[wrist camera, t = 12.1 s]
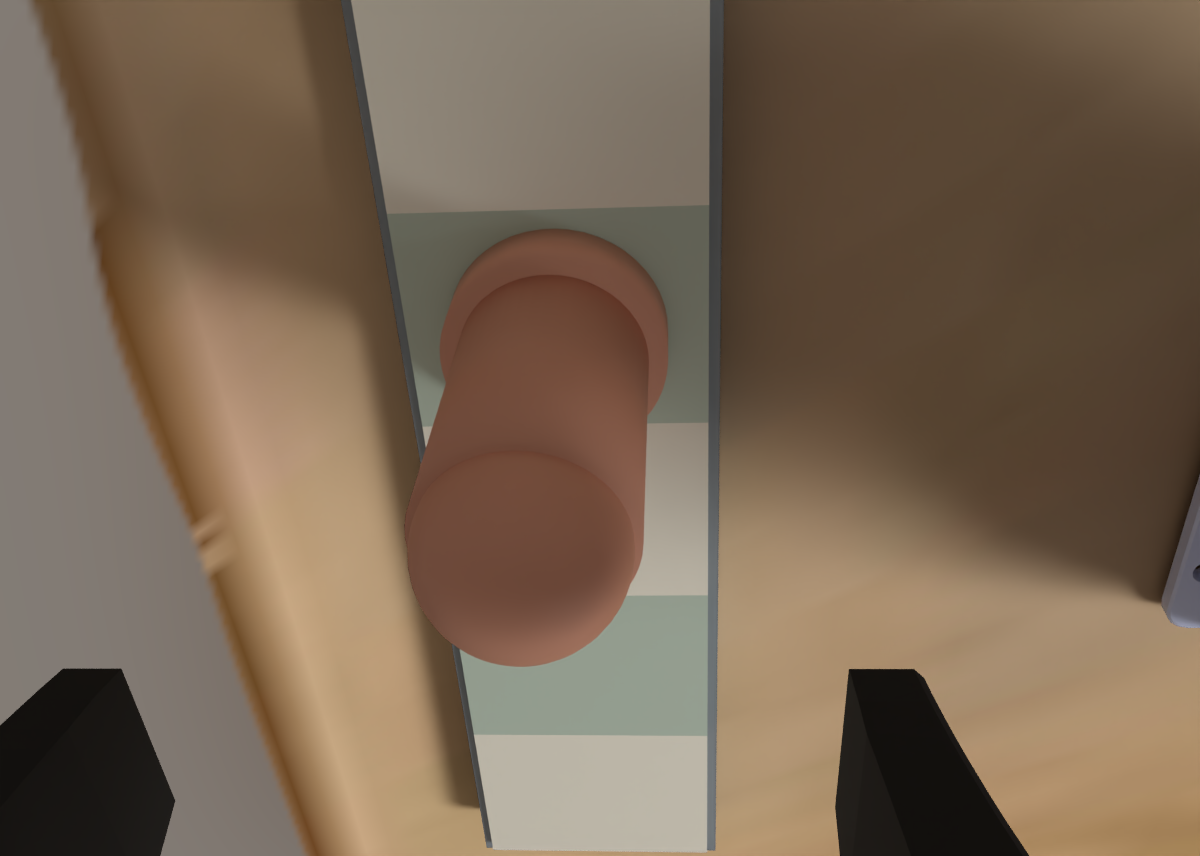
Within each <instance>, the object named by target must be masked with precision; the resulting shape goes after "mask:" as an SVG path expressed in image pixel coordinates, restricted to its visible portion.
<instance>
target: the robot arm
mask: <svg viewBox="0 0 1200 856" xmlns="http://www.w3.org/2000/svg"><path fill="white" fill-rule="evenodd" d="M1199 565H1200V475H1199V478H1198V482H1197V485H1196V488H1195V491H1194V495H1193V498H1192V501H1191V505H1190V508H1189V511H1188V514H1187V518H1186V521H1185V524H1184V527H1183V531H1182V534H1181V537H1180V541H1179V544H1178V547H1177V550H1176V554H1175V557H1174V560H1173V564H1172V567H1171V570H1170V573H1169V577H1168V580H1167V583H1166V586H1165V590H1164V593H1163V596H1162V608H1163V610H1164V611H1165V613H1166V615H1167V617H1168V619H1169V620H1170V622H1171V623H1173V624H1175V625H1176V626H1179V627H1186V628H1200V568H1199V569H1195V568H1196V567H1197V566H1199ZM174 803H175V799H174V797H173V794H172V792H171V789H170V787H169V784H168V782H167V780H166V777H165V775H164V772H163V770H162V767H161V765H160V763H159V760H158V758H157V755H156V753H155V750H154V748H153V745H152V743H151V740H150V738H149V736H148V733H147V730H146V728H145V726H144V723H143V721H142V718H141V716H140V713H139V711H138V709H137V706H136V704H135V701H134V699H133V696H132V694H131V691H130V689H129V686H128V684H127V681H126V679H125V677H124V674H123V672H122V669H62V670H61V671H60V672H59V673H58V674H57V675H55V676H54V677H53V678H52V679H51V680H50V681H49V682H47V683H46V684H45V685H44V686H43V687H42V688H41V689H40V690H38V691H37V692H36V693H35V694H34V695H33V696H32V697H31V698H30V699H28V700H27V701H26V702H25V703H24V704H23V705H22V706H21V707H20V708H19V709H18V710H16V711H15V712H14V714H12V715H11V716H10V717H9V718H8V719H7V720H6V721H5V722H4V723H2V724H1V725H0V856H160V855H161V851H162V847H163V843H164V840H165V836H166V833H167V829H168V825H169V821H170V818H171V814H172V811H173V807H174ZM835 809H836V819H837V829H838V840H839V850H840V856H1029V855H1028V853H1027V852H1026V850H1025V849H1024V847H1023V846H1022V844H1021V843H1020V841H1019V840H1018V838H1017V837H1016V835H1015V834H1014V832H1013V831H1012V829H1011V828H1010V826H1009V825H1008V823H1007V822H1006V820H1005V819H1004V817H1003V815H1002V814H1001V812H1000V811H999V809H998V808H997V806H996V804H995V803H994V801H993V800H992V798H991V796H990V795H989V793H988V792H987V790H986V788H985V787H984V785H983V783H982V782H981V780H980V778H979V777H978V775H977V773H976V772H975V770H974V768H973V767H972V765H971V763H970V762H969V760H968V758H967V757H966V755H965V753H964V752H963V750H962V748H961V746H960V745H959V743H958V741H957V739H956V738H955V736H954V734H953V732H952V730H951V729H950V727H949V725H948V723H947V721H946V720H945V718H944V716H943V714H942V712H941V710H940V708H939V706H938V705H937V703H936V701H935V699H934V697H933V695H932V693H931V691H930V689H929V687H928V685H927V683H926V681H925V679H924V678H923V677H922V676H921V675H920V674H919V673H918V672H917V671H915V670H914V669H849V674H848V685H847V695H846V705H845V715H844V725H843V735H842V745H841V755H840V765H839V775H838V785H837V795H836V805H835Z"/></svg>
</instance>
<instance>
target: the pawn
mask: <svg viewBox="0 0 1200 856" xmlns="http://www.w3.org/2000/svg"><path fill="white" fill-rule="evenodd" d="M440 362H441V367H442V372H443V375H444V378H445V381H446V385H445V388H444V391H443V394H442V398H441V401H440V404H439V407H438V411H437V414H436V417H435V420H434V423H433V427H432V430H431V433H430V436H429V440H428V443H427V446H426V449H425V453H424V456H423V459H422V462H421V466H420V469H419V472H418V475H417V479H416V482H415V485H414V488H413V491H412V495H411V498H410V501H409V505H408V508H407V512H406V516H405V525H404V528H405V540H406V544H407V551H408V570H409V574H410V579H411V583H412V587H413V590H414V593H415V595H416V598H417V600H418V602H419V604H420V607H421V608H422V610H423V612H424V613H425V615H426V617H427V618H428V619H429V621H430V622H431V623H432V624H433V626H434V627H435V628H436V629H437V631H438V632H439V633H440V634H441V635H442V636H443V637H444V638H446V639H447V640H448V641H449V642H451V643H452V644H453V645H455V646H456V647H457V648H459V649H461V650H462V651H464V652H465V653H467V654H469V655H471V656H473V657H475V658H478V659H480V660H483V661H486V662H490V663H493V664H498V665H504V666H513V667H529V666H538V665H543V664H547V663H551V662H554V661H557V660H560V659H563V658H565V657H567V656H570V655H572V654H574V653H576V652H577V651H579V650H580V649H582V648H583V647H585V646H586V645H588V644H589V643H591V642H592V641H593V640H594V639H595V638H597V637H598V636H599V635H600V634H601V633H602V631H603V630H604V629H605V628H606V627H607V626H608V625H609V624H610V623H611V622H612V620H613V619H614V617H615V616H616V614H617V612H618V611H619V609H620V607H621V606H622V604H623V602H624V599H625V597H626V595H627V592H628V589H629V587H630V584H631V582H632V581H633V579H634V577H635V575H636V573H637V571H638V569H639V566H640V563H641V559H642V555H643V544H644V511H645V477H646V443H647V416H648V415H649V413H650V412H651V411H652V409H653V408H654V406H655V405H656V403H657V401H658V400H659V397H660V395H661V393H662V390H663V388H664V384H665V380H666V376H667V368H668V319H667V314H666V309H665V305H664V302H663V299H662V297H661V294H660V292H659V290H658V288H657V286H656V284H655V282H654V281H653V279H652V278H651V277H650V275H649V274H648V273H647V271H646V270H645V269H644V268H643V267H642V266H641V265H640V264H639V263H638V261H637V260H635V259H634V258H633V257H632V256H631V255H629V254H628V253H627V252H626V251H624V250H623V249H621V248H619V247H618V246H616V245H614V244H613V243H611V242H609V241H606V240H604V239H602V238H600V237H597V236H594V235H591V234H588V233H585V232H580V231H574V230H569V229H539V230H533V231H528V232H523V233H520V234H517V235H514V236H511V237H509V238H506V239H504V240H502V241H500V242H498V243H496V244H495V245H493V246H492V247H490V248H488V249H487V250H486V251H484V252H483V253H482V254H481V255H480V256H479V257H477V258H476V259H475V260H474V261H473V263H472V264H471V265H470V266H469V267H468V268H467V270H466V271H465V273H464V274H463V276H462V277H461V279H460V281H459V283H458V285H457V288H456V290H455V292H454V295H453V298H452V301H451V304H450V307H449V310H448V313H447V316H446V319H445V322H444V325H443V329H442V332H441V339H440Z"/></svg>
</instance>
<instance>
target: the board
mask: <svg viewBox="0 0 1200 856" xmlns="http://www.w3.org/2000/svg"><path fill="white" fill-rule="evenodd" d="M341 3H342V9H343V15H344V21H345V27H346V32H347V38H348V44H349V50H350V56H351V62H352V67H353V73H354V79H355V85H356V91H357V96H358V102H359V108H360V114H361V120H362V125H363V131H364V137H365V143H366V149H367V154H368V160H369V166H370V172H371V178H372V183H373V189H374V195H375V201H376V207H377V213H378V218H379V224H380V230H381V236H382V242H383V247H384V253H385V259H386V265H387V271H388V276H389V282H390V288H391V294H392V300H393V305H394V311H395V317H396V323H397V329H398V335H399V340H400V346H401V352H402V358H403V364H404V369H405V375H406V381H407V387H408V393H409V398H410V404H411V410H412V416H413V422H414V427H415V433H416V439H417V445H418V451H419V456H420V462H422V459H423V456H424V453H425V449H426V446H427V443H428V440H429V436H430V433H431V430H432V427H433V423H434V420H435V417H436V414H437V411H438V407H439V404H440V401H441V398H442V394H443V391H444V388H445V385H446V381H445V378H444V375H443V372H442V367H441V362H440V339H441V332H442V329H443V325H444V322H445V319H446V316H447V313H448V310H449V307H450V304H451V301H452V298H453V295H454V292H455V290H456V288H457V285H458V283H459V281H460V279H461V277H462V276H463V274H464V273H465V271H466V270H467V268H468V267H469V266H470V265H471V264H472V263H473V261H474V260H475V259H476V258H477V257H479V256H480V255H481V254H482V253H483V252H484V251H486V250H487V249H488V248H490V247H492V246H493V245H495V244H496V243H498V242H500V241H502V240H504V239H506V238H509V237H511V236H514V235H517V234H520V233H523V232H528V231H533V230H539V229H569V230H574V231H580V232H585V233H588V234H591V235H594V236H597V237H600V238H602V239H604V240H606V241H609V242H611V243H613V244H614V245H616V246H618V247H619V248H621V249H623V250H624V251H626V252H627V253H628V254H629V255H631V256H632V257H633V258H634V259H635V260H637V261H638V263H639V264H640V265H641V266H642V267H643V268H644V269H645V270H646V271H647V273H648V274H649V275H650V277H651V278H652V279H653V281H654V282H655V284H656V286H657V288H658V290H659V292H660V294H661V297H662V299H663V302H664V305H665V309H666V314H667V319H668V368H667V376H666V380H665V384H664V388H663V390H662V393H661V395H660V397H659V400H658V401H657V403H656V405H655V406H654V408H653V409H652V411H651V412H650V413H649V415H648V416H647V443H646V477H645V511H644V544H643V555H642V559H641V563H640V566H639V569H638V571H637V573H636V575H635V577H634V579H633V581H632V582H631V584H630V587H629V589H628V592H627V595H626V597H625V599H624V602H623V604H622V606H621V607H620V609H619V611H618V612H617V614H616V616H615V617H614V619H613V620H612V622H611V623H610V624H609V625H608V626H607V627H606V628H605V629H604V630H603V631H602V633H601V634H600V635H599V636H598V637H597V638H595V639H594V640H593V641H592V642H591V643H589V644H588V645H586V646H585V647H583V648H582V649H580V650H579V651H577V652H576V653H574V654H572V655H570V656H567V657H565V658H563V659H560V660H557V661H554V662H551V663H547V664H543V665H538V666H529V667H513V666H504V665H498V664H493V663H490V662H486V661H483V660H480V659H478V658H475V657H473V656H471V655H469V654H467V653H465V652H464V651H462V650H461V649H459V648H457V647H456V646H455V645H453V644H452V648H453V654H454V660H455V666H456V671H457V677H458V683H459V689H460V695H461V700H462V706H463V712H464V718H465V724H466V729H467V735H468V741H469V747H470V753H471V759H472V764H473V770H474V776H475V782H476V788H477V793H478V799H479V805H480V811H481V817H482V822H483V828H484V834H485V840H486V846H487V848H493V850H552V851H631V852H707V850H715V833H716V733H717V634H718V534H719V435H720V335H721V236H722V136H723V37H724V0H341Z"/></svg>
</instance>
